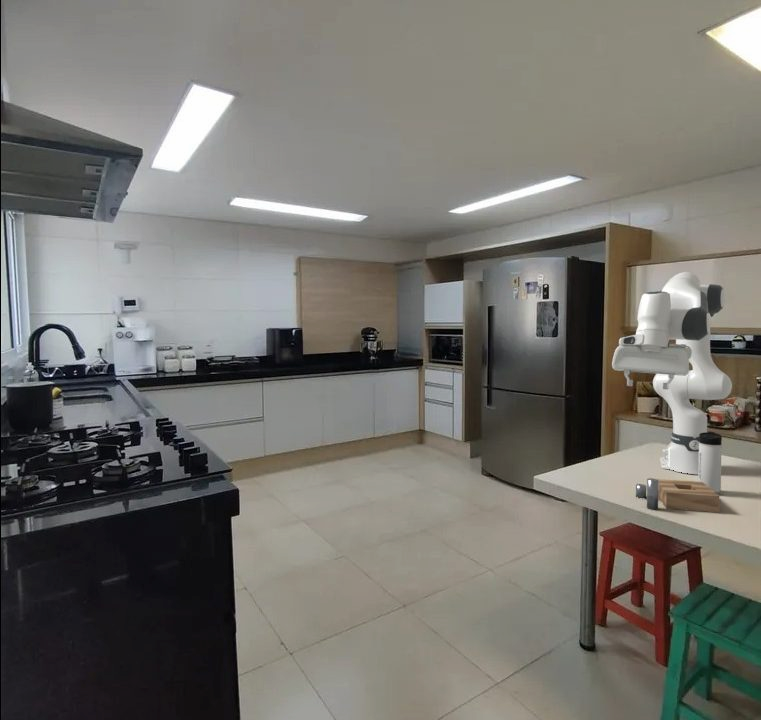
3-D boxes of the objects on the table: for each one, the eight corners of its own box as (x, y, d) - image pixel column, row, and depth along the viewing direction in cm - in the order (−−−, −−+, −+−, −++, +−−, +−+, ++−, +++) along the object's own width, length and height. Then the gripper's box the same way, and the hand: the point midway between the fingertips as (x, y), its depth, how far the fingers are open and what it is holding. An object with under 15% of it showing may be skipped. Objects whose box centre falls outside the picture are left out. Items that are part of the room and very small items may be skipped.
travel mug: (721, 491, 159) (722, 432, 158) (719, 496, 154) (721, 436, 153) (699, 487, 163) (700, 430, 162) (696, 492, 158) (698, 433, 157)
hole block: (654, 493, 158) (654, 478, 158) (702, 496, 154) (702, 481, 154) (666, 508, 145) (666, 492, 145) (719, 512, 141) (719, 496, 141)
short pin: (634, 495, 157) (635, 483, 157) (645, 496, 156) (645, 484, 156) (637, 498, 154) (637, 486, 154) (647, 499, 153) (647, 487, 153)
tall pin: (645, 506, 147) (646, 477, 147) (656, 507, 146) (657, 478, 146) (648, 509, 144) (648, 480, 144) (659, 510, 143) (659, 481, 143)
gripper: (691, 347, 140) (687, 392, 139) (615, 343, 151) (610, 385, 149) (693, 342, 135) (689, 389, 133) (614, 338, 146) (609, 382, 144)
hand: (647, 387), depth 141 cm, fingers open, 8 cm apart
